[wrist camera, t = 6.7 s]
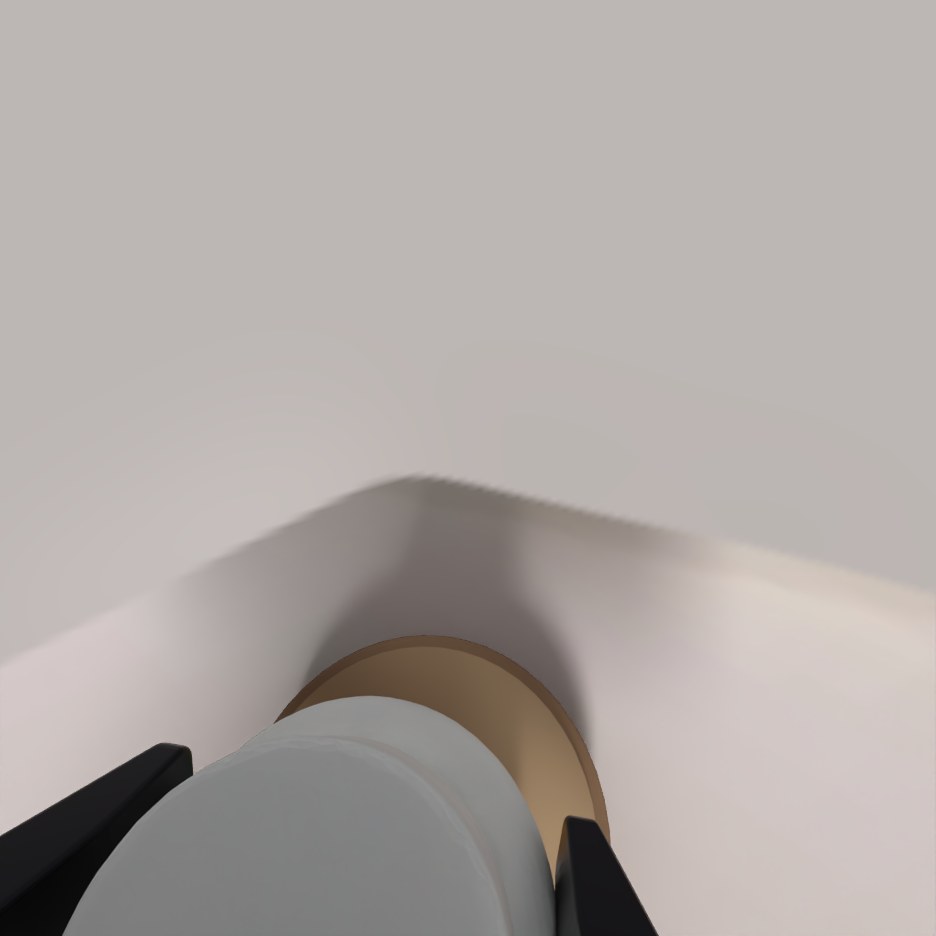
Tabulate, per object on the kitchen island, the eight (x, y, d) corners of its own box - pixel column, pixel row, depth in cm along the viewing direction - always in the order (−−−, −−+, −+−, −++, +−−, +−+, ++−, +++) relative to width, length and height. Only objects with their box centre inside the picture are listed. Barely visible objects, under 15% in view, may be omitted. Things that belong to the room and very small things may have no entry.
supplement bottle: (535, 994, 11) (687, 1662, 3) (285, 1006, 11) (-276, 1712, 3) (514, 716, 14) (561, 652, 6) (310, 726, 14) (49, 679, 6)
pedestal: (459, 1163, 13) (453, 1268, 10) (193, 860, 16) (136, 881, 13) (652, 781, 17) (684, 786, 14) (406, 593, 20) (394, 568, 17)
